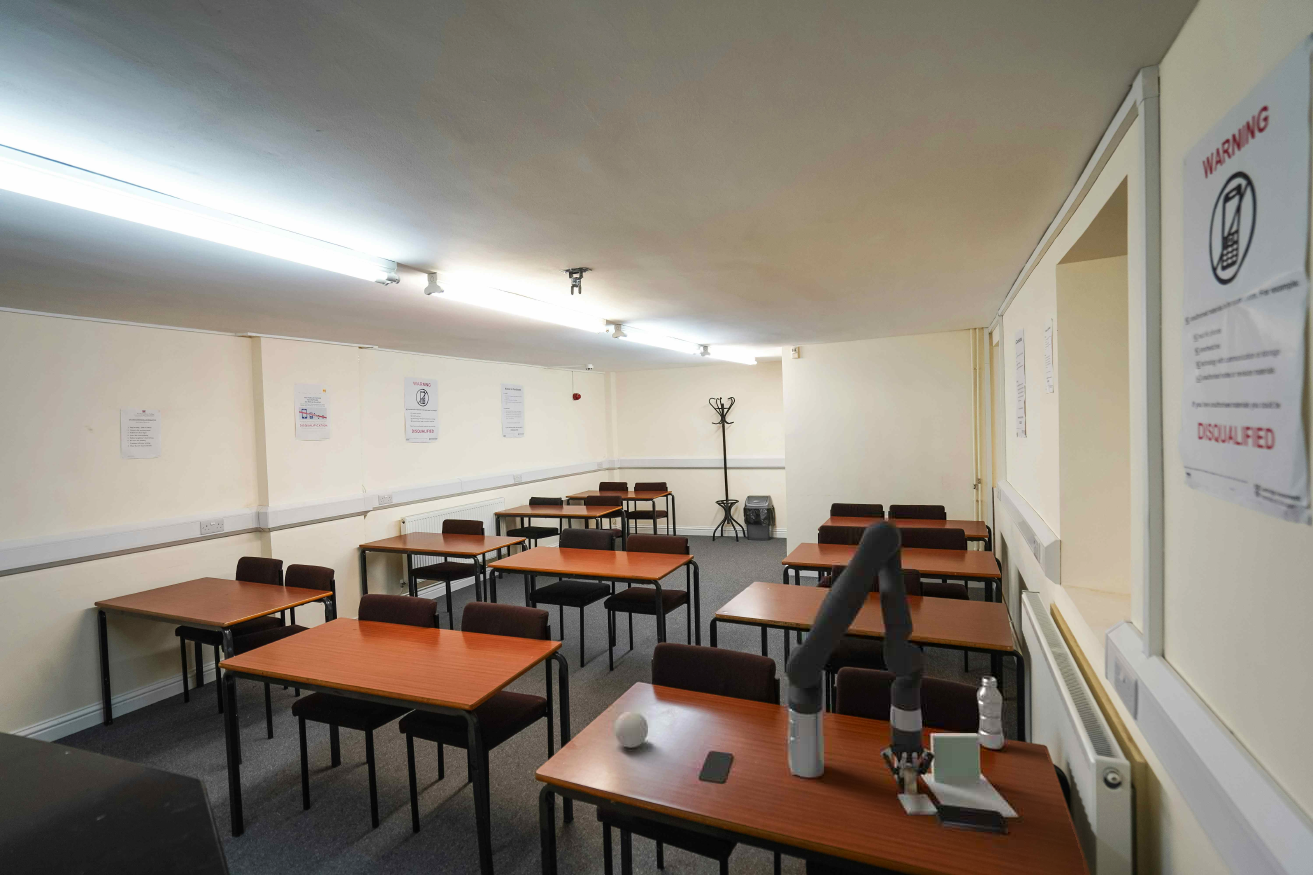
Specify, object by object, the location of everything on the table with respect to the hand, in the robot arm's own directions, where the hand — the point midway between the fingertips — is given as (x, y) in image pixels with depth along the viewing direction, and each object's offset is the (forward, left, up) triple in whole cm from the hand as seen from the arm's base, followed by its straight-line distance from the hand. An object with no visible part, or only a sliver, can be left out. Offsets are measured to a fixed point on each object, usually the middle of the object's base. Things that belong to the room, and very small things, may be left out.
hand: (907, 788), depth 157 cm
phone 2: (+10, -12, -1) cm, 16 cm away
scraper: (0, -3, 0) cm, 3 cm away
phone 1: (-49, +11, -1) cm, 50 cm away
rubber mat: (+14, -2, 0) cm, 14 cm away
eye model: (-74, +23, 0) cm, 77 cm away
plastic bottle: (+32, +22, 0) cm, 39 cm away
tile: (+14, +4, 0) cm, 15 cm away
